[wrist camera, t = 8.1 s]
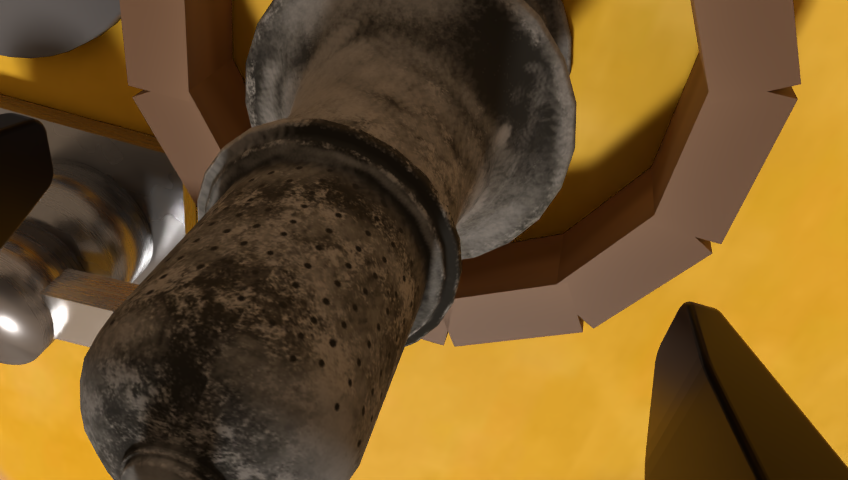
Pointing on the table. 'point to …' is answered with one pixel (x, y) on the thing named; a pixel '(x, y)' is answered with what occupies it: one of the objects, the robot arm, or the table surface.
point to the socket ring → (542, 257)
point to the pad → (52, 25)
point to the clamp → (49, 296)
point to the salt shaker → (332, 234)
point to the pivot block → (109, 194)
